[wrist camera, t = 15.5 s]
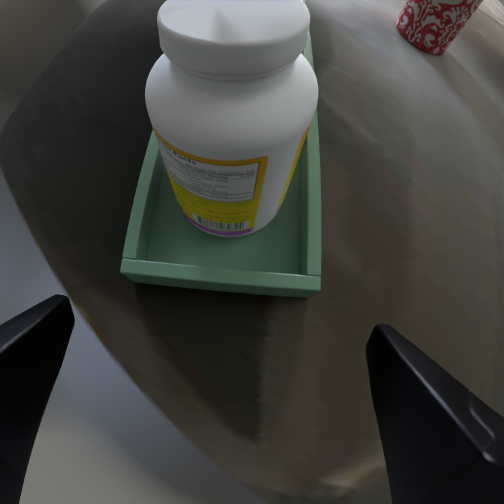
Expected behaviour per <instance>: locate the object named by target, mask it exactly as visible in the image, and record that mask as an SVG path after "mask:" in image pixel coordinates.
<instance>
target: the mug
mask: <svg viewBox="0 0 504 504" xmlns="http://www.w3.org/2000/svg"><path fill="white" fill-rule="evenodd" d="M482 1H483V0H406V1H405V4H404V6H403V9H402V11H401V13H400V15H399V18H398V20H397V23H396V27H397V29H398V31H399V32H400V33H401V35H402V36H403V37H405V38H406V39H407V40H408V41H409V42H411V43H412V44H414V45H415V46H417V47H418V48H420V49H422V50H424V51H426V52H428V53H431V54H434V55H441V54H443V53H444V51H445V50H446V49H447V47H448V46H449V45H450V43H451V42H452V41H453V39H454V38H455V37H456V35H457V34H458V33H459V31H460V30H461V29H462V27H463V26H464V25H465V23H466V22H467V21H468V20H469V18H470V17H471V15H472V14H473V13H474V12H475V10H476V9H477V8H478V6H479V5H480V3H481V2H482Z"/></svg>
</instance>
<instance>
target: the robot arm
mask: <svg viewBox="0 0 504 504" xmlns="http://www.w3.org/2000/svg"><path fill="white" fill-rule="evenodd" d="M74 323H75V319H74V314H73V311H72V307H71V304H70V300H69V298H68V297H67V296H64V295H54V296H52V297H50V298H48V299H46V300H44V301H43V302H41V303H39V304H37V305H35V306H33V307H32V308H30V309H28V310H26V311H24V312H23V313H21V314H19V315H17V316H15V317H14V318H12V319H10V320H9V321H7V322H5V323H3V324H2V325H0V504H19V501H20V496H21V491H22V487H23V483H24V478H25V474H26V470H27V466H28V463H29V459H30V455H31V452H32V448H33V445H34V442H35V438H36V435H37V432H38V429H39V426H40V423H41V420H42V416H43V414H44V411H45V408H46V405H47V402H48V399H49V397H50V394H51V392H52V389H53V386H54V384H55V381H56V379H57V376H58V374H59V371H60V368H61V366H62V362H63V359H64V356H65V353H66V349H67V346H68V343H69V340H70V336H71V333H72V330H73V327H74ZM366 357H367V365H368V372H369V380H370V388H371V395H372V400H373V404H374V409H375V413H376V417H377V422H378V427H379V431H380V436H381V441H382V446H383V451H384V456H385V461H386V467H387V472H388V478H389V484H390V490H391V496H392V503H393V504H504V417H502V416H501V415H499V414H498V413H497V412H495V411H494V410H493V409H491V408H490V407H489V406H488V405H486V404H485V403H484V402H483V401H481V400H480V399H479V398H478V397H477V396H475V395H474V394H473V393H472V392H471V391H469V390H468V389H467V388H466V387H465V386H464V385H462V384H461V383H460V382H459V381H458V380H456V379H455V378H454V377H453V376H452V375H450V374H449V373H448V372H447V371H446V370H444V369H443V368H442V367H441V366H439V365H438V364H437V363H436V362H435V361H433V360H432V359H431V358H430V357H428V356H427V355H426V354H425V353H424V352H422V351H421V350H420V349H419V348H417V347H416V346H415V345H414V344H413V343H411V342H410V341H409V340H408V339H406V338H405V337H404V336H403V335H401V334H400V333H399V332H398V331H396V330H395V329H394V328H393V327H391V326H390V325H388V324H378V325H376V326H375V327H374V328H373V331H372V333H371V335H370V338H369V340H368V342H367V345H366Z"/></svg>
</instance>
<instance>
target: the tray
mask: <svg viewBox="0 0 504 504" xmlns="http://www.w3.org/2000/svg"><path fill="white" fill-rule="evenodd" d="M301 1H302V2H303V3H304V4H305V6H306V7H307V5H306V0H301ZM302 54H303V56H304V57H305V58H306V59H307V61H308V62H309V63H310V65H311V67H312V69H313V71H314V66H313V56H312V46H311V37H310V28H309V30H308V35H307V40H306V45H305V47H304V50H303V51H302ZM120 273H122V274H123V275H125V276H126V277H128V278H129V279H131V280H132V281H133V282H138V283H147V284H156V285H165V286H174V287H183V288H193V289H203V290H214V291H225V292H236V293H248V294H260V295H273V296H286V297H301V298H309V297H311V296H312V295H314V294H315V293H317V292H319V291H320V288H321V278H320V276H321V181H320V153H319V133H318V116H317V106H316V110H315V113H314V116H313V119H312V122H311V124H310V127H309V130H308V133H307V135H306V138H305V141H304V144H303V147H302V150H301V152H300V155H299V158H298V161H297V164H296V167H295V169H294V172H293V175H292V178H291V181H290V183H289V186H288V189H287V192H286V195H285V198H284V200H283V203H282V205H281V207H280V209H279V211H278V213H277V214H276V216H275V217H274V218H273V219H272V220H271V222H269V223H268V224H267V225H266V226H265V227H263V228H262V229H260V230H258V231H256V232H254V233H252V234H249V235H246V236H241V237H234V238H227V237H219V236H214V235H211V234H208V233H206V232H204V231H202V230H200V229H199V228H197V227H196V226H194V225H193V224H192V223H191V222H190V221H189V220H188V219H187V217H186V216H185V215H184V214H183V212H182V210H181V208H180V206H179V204H178V201H177V199H176V196H175V193H174V190H173V187H172V184H171V181H170V179H169V175H168V173H167V170H166V167H165V164H164V161H163V158H162V155H161V152H160V149H159V145H158V142H157V139H156V136H155V133H154V130H153V131H152V134H151V137H150V141H149V144H148V148H147V151H146V155H145V158H144V162H143V166H142V170H141V173H140V177H139V181H138V185H137V189H136V194H135V198H134V202H133V207H132V211H131V216H130V220H129V225H128V230H127V235H126V240H125V246H124V251H123V259H122V263H121V269H120Z"/></svg>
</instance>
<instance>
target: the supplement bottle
mask: <svg viewBox="0 0 504 504" xmlns="http://www.w3.org/2000/svg"><path fill="white" fill-rule="evenodd" d="M157 23H158V30H159V38H160V47H161V49H162V51H163V53H164V54H163V55H162V56H161V57H160V58H159V59H158V60H157V62H156V63H155V64H154V66H153V68H152V70H151V72H150V73H149V76H148V79H147V83H146V89H145V100H146V107H147V110H148V114H149V118H150V121H151V125H152V128H153V130H154V133H155V136H156V139H157V142H158V145H159V149H160V152H161V155H162V158H163V161H164V164H165V167H166V170H167V173H168V175H169V179H170V181H171V184H172V187H173V190H174V193H175V196H176V199H177V201H178V204H179V206H180V208H181V210H182V212H183V214H184V215H185V216H186V217H187V219H188V220H189V221H190V222H191V223H192V224H193V225H194V226H196V227H197V228H199V229H200V230H202V231H204V232H206V233H208V234H211V235H214V236H219V237H227V238H234V237H241V236H246V235H249V234H252V233H254V232H256V231H258V230H260V229H262V228H263V227H265V226H266V225H267V224H268V223H269V222H271V220H272V219H273V218H274V217H275V216H276V214H277V213H278V211H279V209H280V207H281V205H282V203H283V200H284V198H285V195H286V192H287V189H288V186H289V183H290V181H291V178H292V175H293V172H294V169H295V167H296V164H297V161H298V158H299V155H300V152H301V150H302V147H303V144H304V141H305V138H306V135H307V133H308V130H309V127H310V124H311V122H312V119H313V116H314V113H315V110H316V106H317V102H318V84H317V79H316V76H315V73H314V71H313V69H312V67H311V65H310V63H309V62H308V61H307V59H306V58H305V57H304V56H303V54H302V51H303V50H304V47H305V45H306V40H307V35H308V30H309V25H310V13H309V10H308V8H307V7H306V6H305V4H304V3H303V2H302V1H301V0H167V1H166V2H165V3H164V4H163V5H162V6H161V8H160V9H159V11H158V15H157Z"/></svg>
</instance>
